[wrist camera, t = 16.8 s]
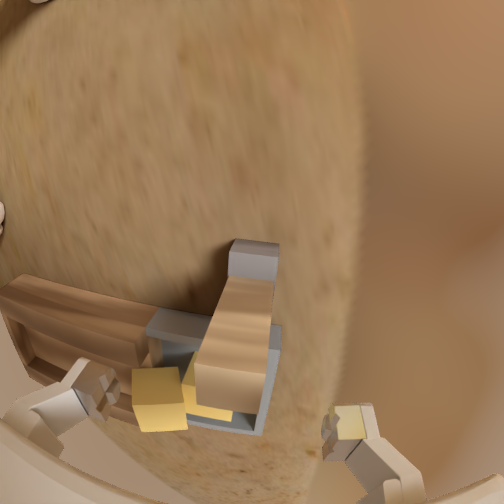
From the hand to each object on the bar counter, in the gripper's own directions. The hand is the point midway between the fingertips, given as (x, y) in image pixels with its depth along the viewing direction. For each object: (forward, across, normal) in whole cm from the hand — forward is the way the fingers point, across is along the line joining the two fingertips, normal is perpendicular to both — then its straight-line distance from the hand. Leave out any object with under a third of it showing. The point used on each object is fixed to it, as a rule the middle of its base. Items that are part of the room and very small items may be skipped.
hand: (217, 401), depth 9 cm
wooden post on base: (+12, 0, +1) cm, 12 cm away
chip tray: (+12, +2, +11) cm, 16 cm away
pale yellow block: (+7, +6, +11) cm, 14 cm away
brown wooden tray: (+12, +16, +11) cm, 23 cm away
